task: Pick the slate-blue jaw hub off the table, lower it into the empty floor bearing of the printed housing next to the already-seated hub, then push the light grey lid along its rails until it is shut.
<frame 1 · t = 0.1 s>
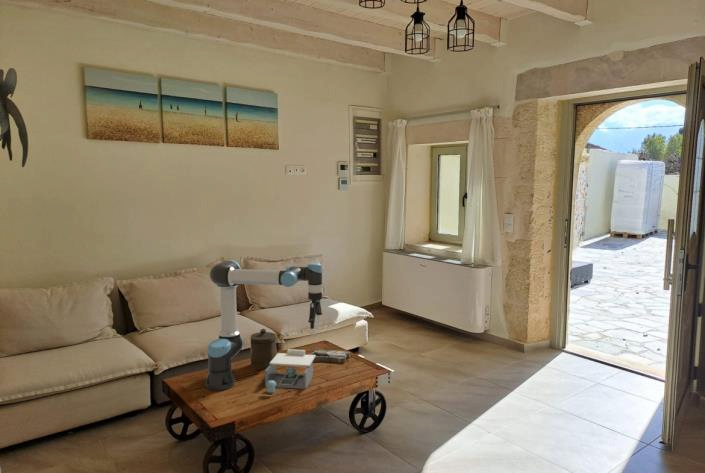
hand: (315, 330, 258), 28 cm above the table, fingers open, 13 cm apart
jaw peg: (271, 393, 245), on the table
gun: (328, 359, 293), on the table
housing: (289, 383, 257), on the table
wooden container: (263, 365, 282), on the table
jaw peg seated: (291, 378, 260), resting on housing
lid: (293, 357, 263), point 12 cm above the table, slide at 8.0 cm
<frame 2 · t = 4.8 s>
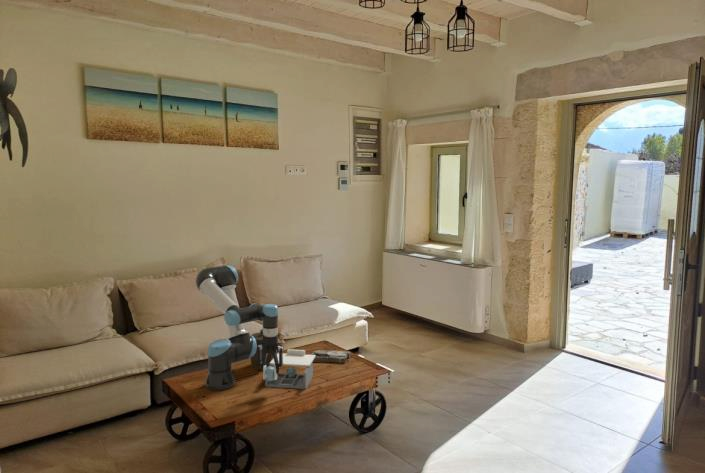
hand: (270, 378, 244), 7 cm above the table, fingers closed on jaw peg, 5 cm apart
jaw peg: (270, 379, 244), point 7 cm above the table, touching gripper
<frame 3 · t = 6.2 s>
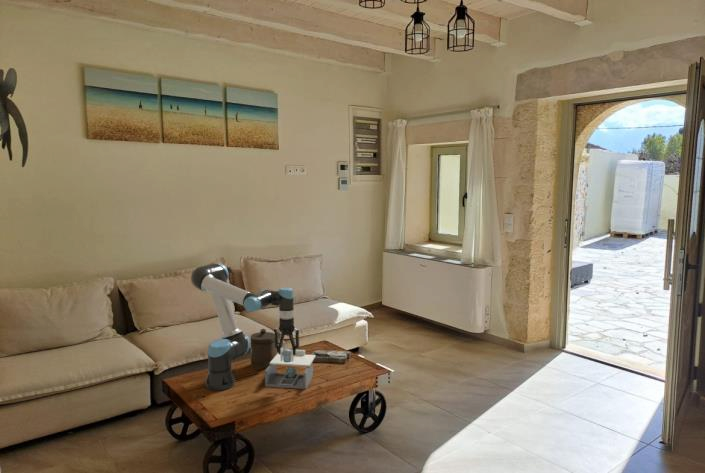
hand: (287, 360, 251), 14 cm above the table, fingers closed on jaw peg, 5 cm apart
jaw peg: (287, 361, 251), point 14 cm above the table, touching gripper
everything else where it was.
when the fingers open (3 cm above the table, at t = 8.0 s): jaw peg drops 2 cm, resting on housing.
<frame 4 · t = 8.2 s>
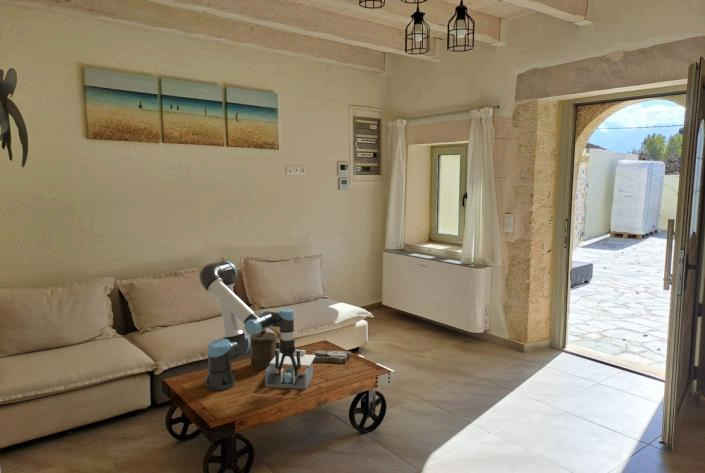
hand: (288, 381, 252), 3 cm above the table, fingers open, 6 cm apart
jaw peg: (287, 384, 253), point 1 cm above the table, touching housing
everything else where it was.
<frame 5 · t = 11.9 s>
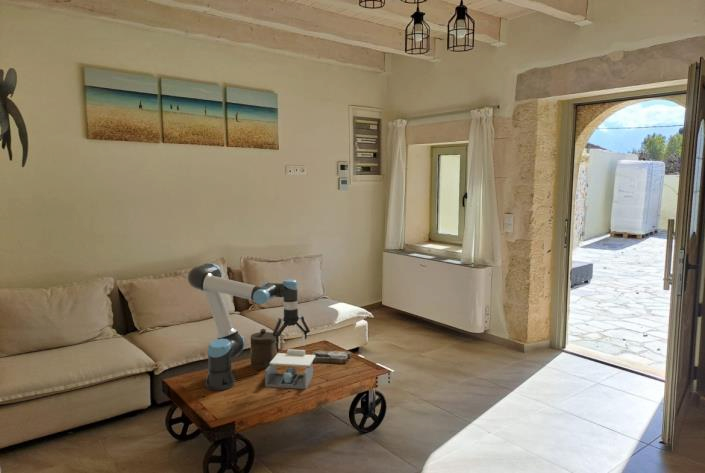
hand: (291, 346, 258), 19 cm above the table, fingers open, 13 cm apart
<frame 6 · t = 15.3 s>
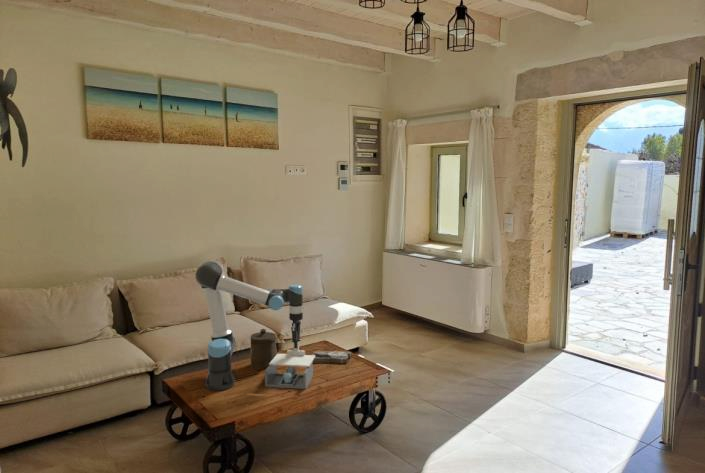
hand: (296, 352, 271), 11 cm above the table, fingers closed
lid: (292, 357, 262), point 12 cm above the table, slide at 7.3 cm, touching gripper
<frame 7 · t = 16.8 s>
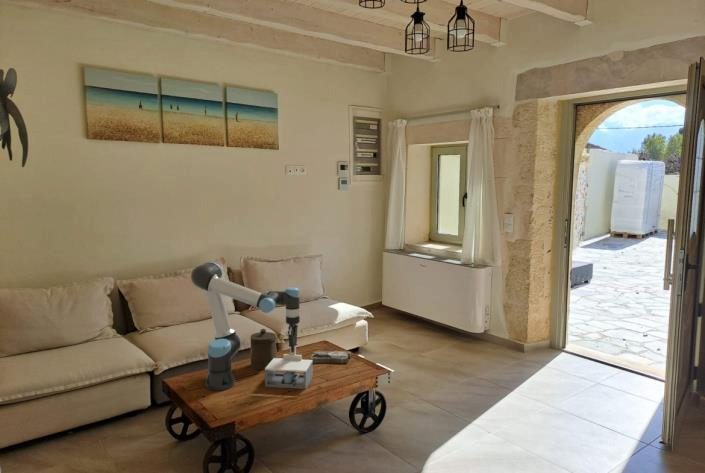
hand: (293, 357, 264), 11 cm above the table, fingers closed
lid: (289, 362, 255), point 12 cm above the table, slide at 0.2 cm, touching gripper
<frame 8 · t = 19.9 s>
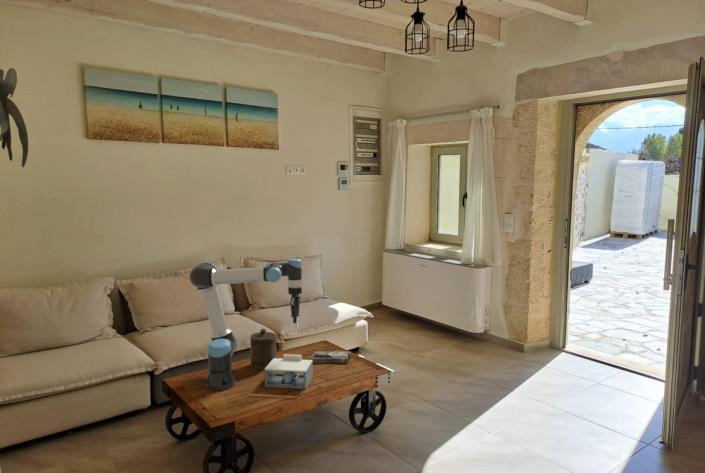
hand: (295, 327, 267), 26 cm above the table, fingers closed
lid: (289, 362, 255), point 12 cm above the table, slide at 0.0 cm
at the end: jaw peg 0.3 cm from the target spot on the housing, point 1.0 cm above the housing's base; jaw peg tilted 0°; lid slide at 0.0 cm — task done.
